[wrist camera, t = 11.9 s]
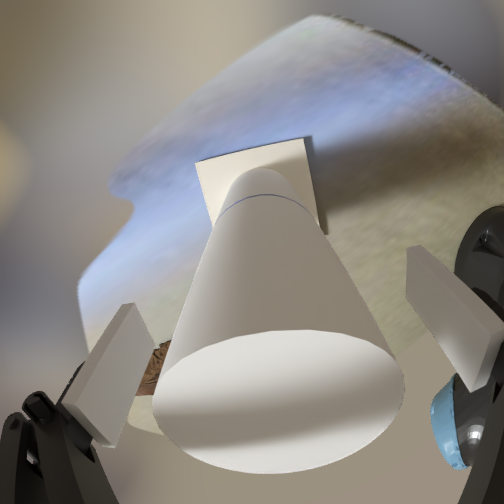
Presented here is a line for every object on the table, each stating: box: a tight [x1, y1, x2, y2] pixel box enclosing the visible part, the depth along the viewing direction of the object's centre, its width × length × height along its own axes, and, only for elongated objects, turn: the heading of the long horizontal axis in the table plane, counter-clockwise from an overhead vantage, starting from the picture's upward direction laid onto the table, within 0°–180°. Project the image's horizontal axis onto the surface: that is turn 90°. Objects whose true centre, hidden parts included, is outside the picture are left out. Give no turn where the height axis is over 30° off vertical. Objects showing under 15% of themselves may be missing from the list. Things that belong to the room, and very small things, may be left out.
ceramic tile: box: [195, 138, 320, 227], centre depth 31 cm, size 11×11×1 cm
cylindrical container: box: [152, 168, 405, 474], centre depth 19 cm, size 7×7×25 cm
